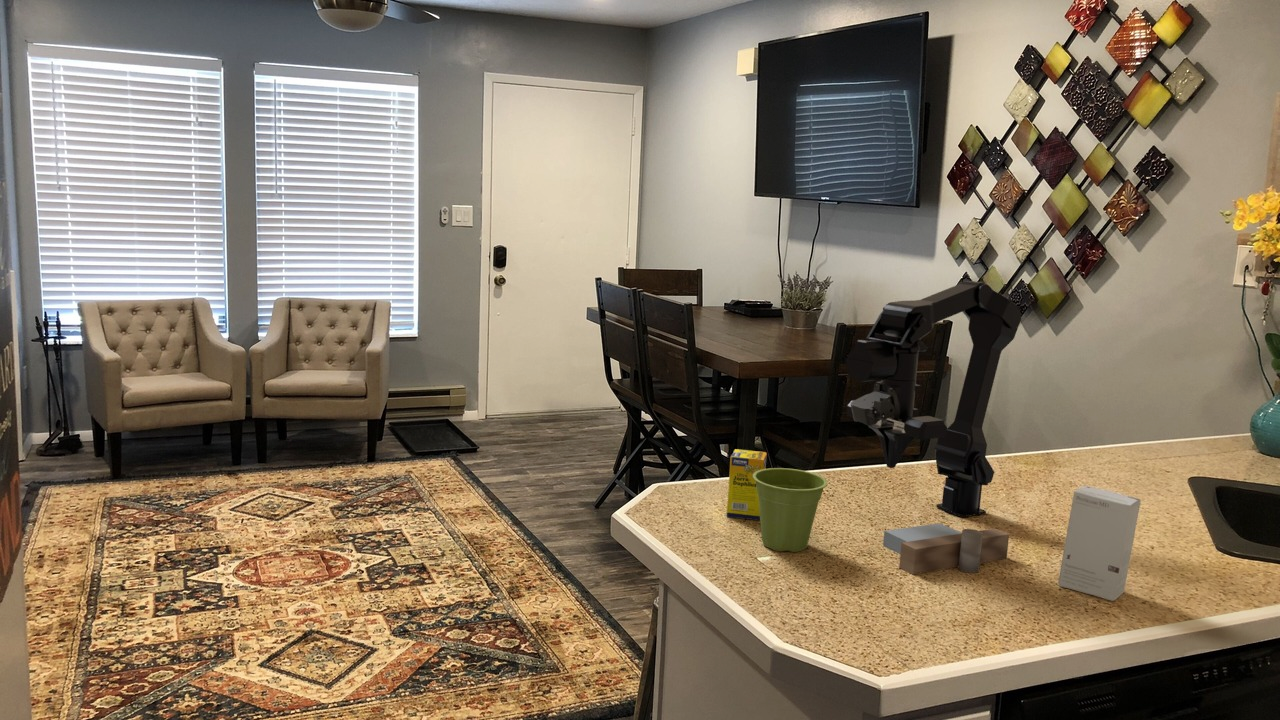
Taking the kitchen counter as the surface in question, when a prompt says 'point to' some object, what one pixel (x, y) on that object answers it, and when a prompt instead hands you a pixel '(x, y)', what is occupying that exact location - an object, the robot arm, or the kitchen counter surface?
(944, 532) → the slate plate
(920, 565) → the walnut bar
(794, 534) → the plant pot
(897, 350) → the robot arm
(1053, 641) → the kitchen counter surface
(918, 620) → the kitchen counter surface
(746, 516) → the supplement box
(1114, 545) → the skincare box
